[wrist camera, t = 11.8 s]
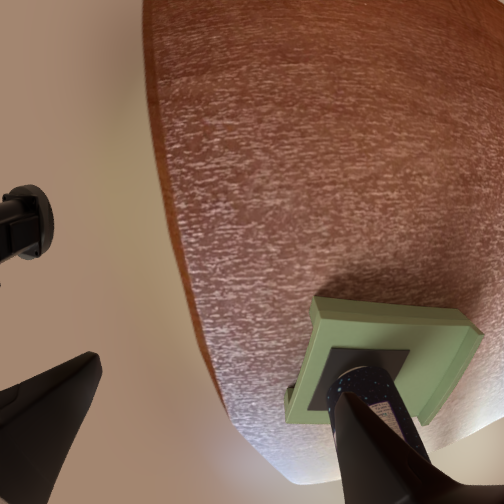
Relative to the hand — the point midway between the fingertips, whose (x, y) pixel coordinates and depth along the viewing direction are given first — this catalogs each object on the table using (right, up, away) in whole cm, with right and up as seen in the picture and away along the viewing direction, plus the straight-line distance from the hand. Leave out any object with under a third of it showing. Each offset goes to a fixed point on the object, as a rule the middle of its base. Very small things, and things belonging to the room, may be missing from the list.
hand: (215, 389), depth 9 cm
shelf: (+13, -6, +15) cm, 21 cm away
